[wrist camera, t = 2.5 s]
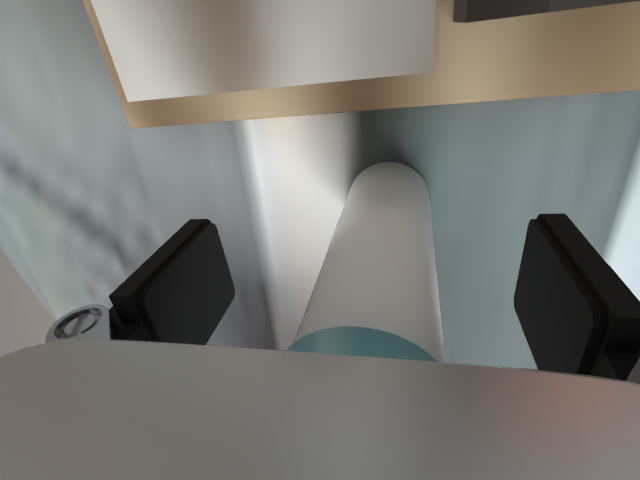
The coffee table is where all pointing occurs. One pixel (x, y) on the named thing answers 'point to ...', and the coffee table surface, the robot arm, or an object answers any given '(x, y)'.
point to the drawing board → (356, 54)
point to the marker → (378, 274)
